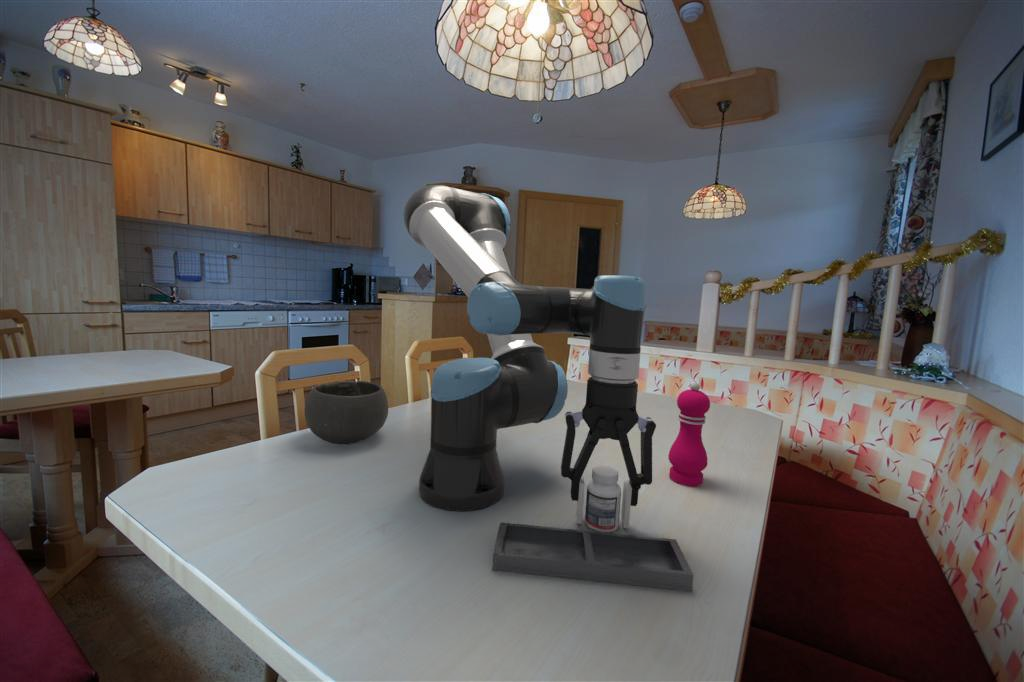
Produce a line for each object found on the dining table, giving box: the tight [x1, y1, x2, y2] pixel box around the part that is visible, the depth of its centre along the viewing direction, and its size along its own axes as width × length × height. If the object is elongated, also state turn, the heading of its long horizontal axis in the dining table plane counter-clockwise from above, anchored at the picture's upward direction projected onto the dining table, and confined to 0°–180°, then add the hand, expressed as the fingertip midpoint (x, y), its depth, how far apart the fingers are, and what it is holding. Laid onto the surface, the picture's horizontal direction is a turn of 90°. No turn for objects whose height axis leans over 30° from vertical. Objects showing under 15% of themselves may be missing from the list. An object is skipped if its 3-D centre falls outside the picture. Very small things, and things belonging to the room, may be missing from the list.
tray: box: [491, 521, 695, 592], centre depth 57 cm, size 25×8×2 cm, turn 84°
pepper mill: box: [668, 381, 711, 487], centre depth 83 cm, size 7×7×20 cm
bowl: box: [304, 380, 389, 446], centre depth 97 cm, size 18×18×13 cm
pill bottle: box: [584, 465, 622, 533], centre depth 66 cm, size 5×5×9 cm
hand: (601, 521), depth 66 cm, fingers open, 6 cm apart
